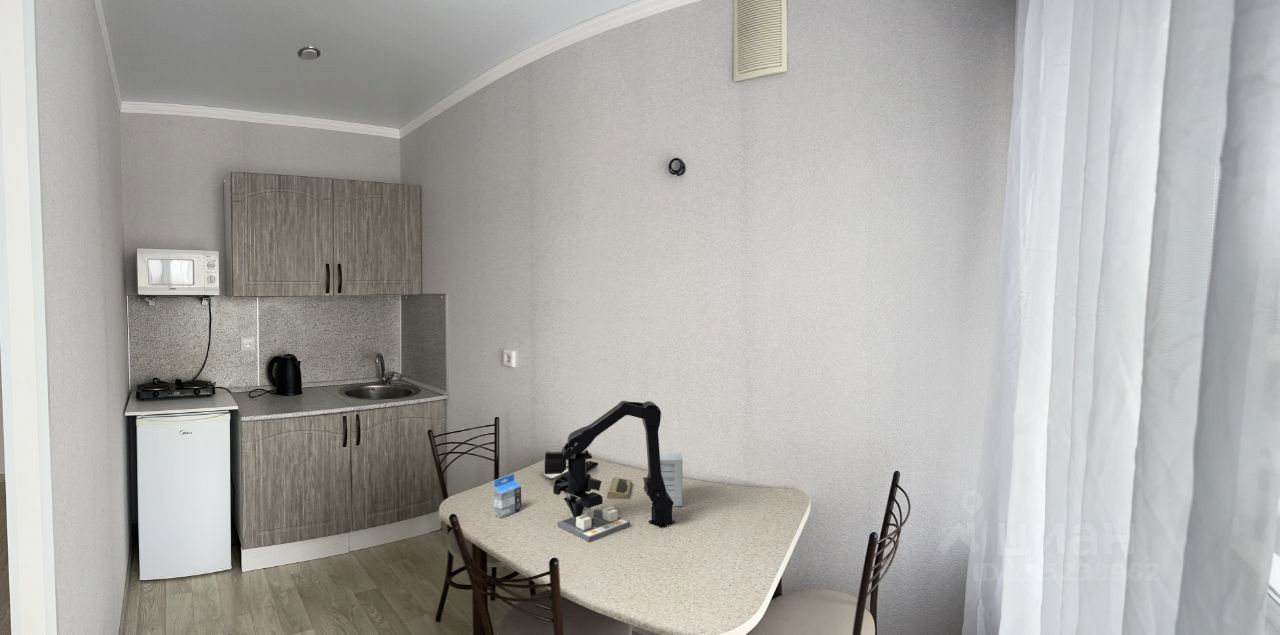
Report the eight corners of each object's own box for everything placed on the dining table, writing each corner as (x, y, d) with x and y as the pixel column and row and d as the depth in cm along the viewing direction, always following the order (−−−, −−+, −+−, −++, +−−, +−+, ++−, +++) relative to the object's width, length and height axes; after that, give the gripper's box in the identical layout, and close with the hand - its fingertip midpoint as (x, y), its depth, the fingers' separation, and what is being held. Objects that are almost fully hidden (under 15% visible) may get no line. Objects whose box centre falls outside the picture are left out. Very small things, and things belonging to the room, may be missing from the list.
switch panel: (630, 526, 189) (630, 521, 189) (588, 542, 177) (588, 536, 177) (598, 512, 201) (598, 507, 201) (557, 526, 189) (557, 521, 189)
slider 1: (591, 527, 184) (591, 515, 184) (583, 530, 182) (583, 518, 182) (583, 523, 187) (583, 512, 187) (576, 526, 185) (576, 514, 185)
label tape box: (501, 518, 196) (501, 482, 195) (493, 515, 198) (493, 479, 197) (522, 510, 203) (521, 475, 202) (514, 508, 205) (513, 473, 204)
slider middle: (593, 518, 192) (593, 507, 191) (586, 521, 189) (586, 509, 189) (586, 515, 194) (585, 503, 194) (578, 517, 192) (578, 506, 192)
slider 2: (617, 519, 191) (617, 508, 190) (610, 522, 189) (610, 510, 188) (609, 516, 194) (609, 504, 193) (602, 518, 191) (602, 507, 191)
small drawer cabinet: (682, 507, 206) (683, 460, 205) (656, 507, 206) (656, 459, 205) (681, 497, 215) (681, 452, 214) (656, 497, 215) (656, 452, 214)
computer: (629, 500, 214) (629, 491, 214) (606, 499, 214) (606, 490, 214) (631, 485, 230) (631, 477, 230) (611, 485, 230) (611, 476, 230)
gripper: (615, 473, 185) (615, 522, 186) (579, 460, 199) (579, 506, 200) (587, 481, 178) (588, 532, 178) (552, 467, 191) (552, 514, 192)
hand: (577, 520), depth 187 cm, fingers closed
